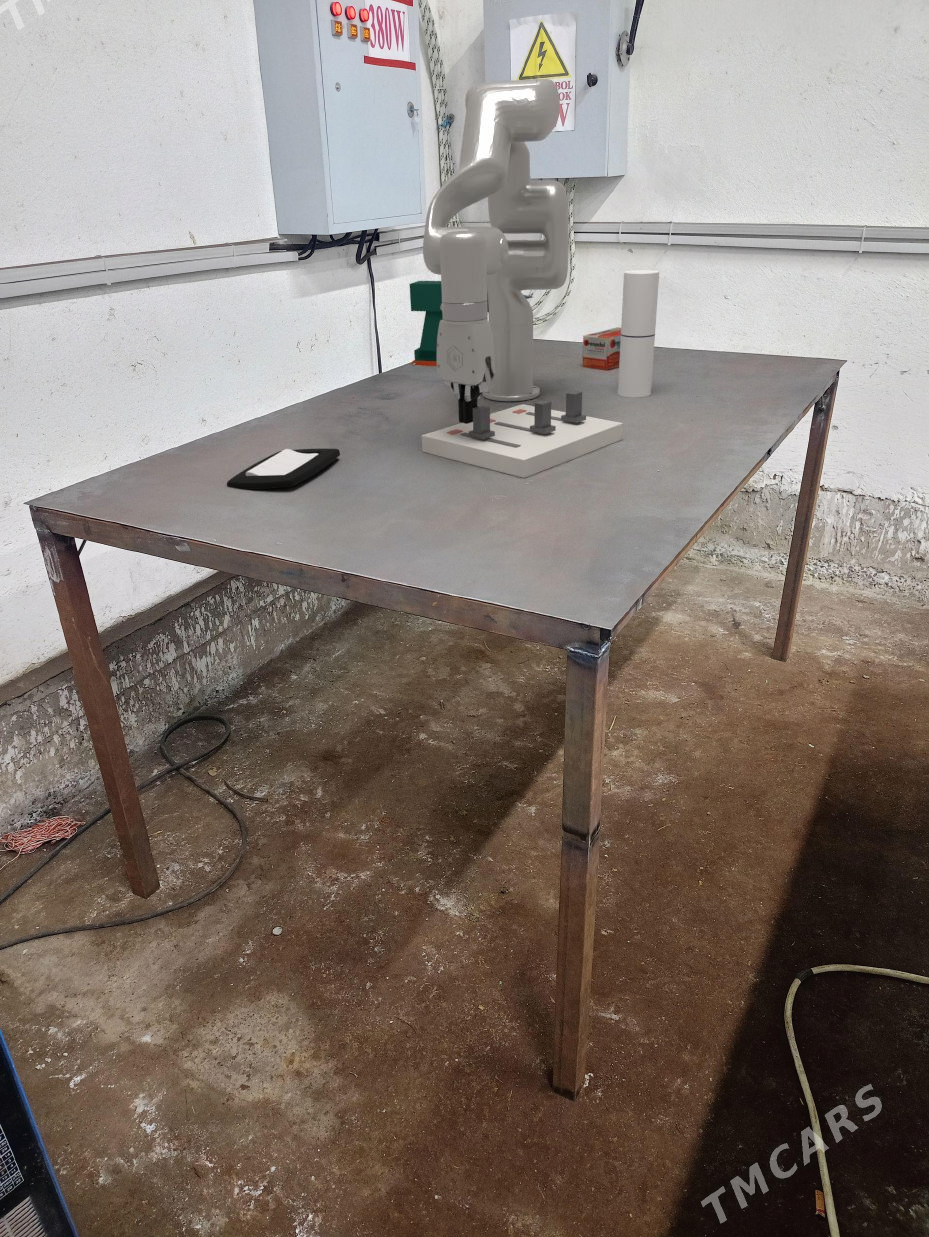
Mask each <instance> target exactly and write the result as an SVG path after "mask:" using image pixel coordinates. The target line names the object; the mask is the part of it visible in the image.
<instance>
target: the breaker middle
mask: <svg viewBox="0 0 929 1237" xmlns="http://www.w3.org/2000/svg"><path fill="white" fill-rule="evenodd" d="M534 406H535V417H534V425H532V426H530V431H534V432H538V433H543V434H547V433H550V432H553V431H556V426H553V425H551V410H552V401H549V400H539V401H536V402H534Z"/></svg>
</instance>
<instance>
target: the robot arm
mask: <svg viewBox="0 0 929 1237" xmlns="http://www.w3.org/2000/svg"><path fill="white" fill-rule="evenodd" d="M464 99H465V100H464V102H465V104H464V105H465V119H464V123H463V124H464V125H463V132H462V133H463V134H462V141H461V142H462V143H461V148H460V156H459V165H458V166H459V167H458V169H457V170H456V171H455V172H454V173H452V175H450V177H448V178H447V180H445V181H444V183H443V184H442V185H441V186H440V187H439V189H438V191H437V192H436V194H435V195H434V196H433V198H432V199H431V201H430V203H429V206H428V210H427V213H426V218H425V226H424V234H423V240H422V241H423V242H422V255H423V257H422V258H423V262H424V264H425V266H426V268H427V270H429V272H431V273H432V274H435V275H440V281H441V287H442V304H441V306H440V308H441V310H442V312H443V320H441V321H440V323H439V329H438V337H437V366H436V373H437V377H438V378H439V379H440V380H441V381H442V382H443V384H444V385H446V386H448V387H450V388H451V389H452V391H453V392H454V397H455V400H457V404H458V405H457V407H458V410H457V411H458V423H459V424H460V423H465V424H468V423H471V422H473V408H474V407H478V406H479V405H478V399H480V398H481V395H483V397H484V398H486V399H487V400H492V401H496V402H497V401H499V402H522V401H528V400H532V399H535V398H538V397H539V396H540V395H541V389H540V387H538V386H536V385H534V311H533V308H532V306H531V304H530V302H529V300H528V299H526V298H525V297H524V295H525V294H523V292H522V291H533V290H535V291H538V290H539V291H542V290H543V291H544V290H549V291H550V290H558V289H560V288H561V287H563V286H564V285H565V284H566V281H567V277H568V274H569V272H568V271H569V203H568V202H569V201H568V194H567V191H566V188H565V186H564V185H563V184H562V183H561V182H559V181H557V180H552V179H550V180H549V179H545V180H544V179H543V180H532V178H531V161H530V160H531V156H530V155H531V154H530V151H529V148H528V146H527V144H526V143H529V142H541V141H544V140H545V139H546V138H547V137H548V136H549V135H550V134H551V133H552V132H553V131H554V129H555V127H556V126H557V123H558V120H559V116H560V109H561V104H560V103H561V102H560V101H561V100H560V93H559V90H558V86H557V85H556V83H555V82H554V81H553V80H552V79H550V78H536V79H535V78H533V79H516V80H513V79H512V80H511V79H510V80H497V81H496V80H495V81H493V80H492V81H486V82H480V83H478V84H474V85H473V86H471V87H470V88H469V89H468V90H467V92H466V94H465V98H464ZM485 198H487V207H488V208H487V209H488V219H489V224H490V226H486V225H484V226H448V224H449V223H450V221H451V220H452V219H453V218H454V217H455V216H456V215H457V214H459V213H460V212H461V211H462V210H464V209H466V208H467V207H468V208H469V207H470V206H472V205H474V204H476V203H478V202H479V201H483V200H484V199H485ZM505 234H511V235H513V234H514V235H515V234H518V235H519V234H522V235H523V234H540V235H543V236H544V239H534V240H533V239H531V240H529V239H512V240H511V239H510V240H509V239H507V238H506V236H505ZM487 294H488V309H489V312H488V309H487Z"/></svg>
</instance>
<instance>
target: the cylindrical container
mask: <svg viewBox="0 0 929 1237" xmlns="http://www.w3.org/2000/svg"><path fill="white" fill-rule="evenodd" d="M659 279H660V271H659V270H655V269H653V270H651V269H636V270H635V269H632V270H625V271H624V272H623V282H622V283H623V284H622V286H623V288H622V307H621V308H622V309H621V324H620V325H621V326H620V328H621V343H620V363H619V367H618V386H617V395H618V396H620V397H624V398H631V399H632V398H633V399H634V398H635V399H636V398H637V399H638V398H646V397H649V396H651V394H652V385H653V372H654V371H653V368H654V355H655V341H656V339H655V338H656V324H657V311H658V310H657V309H658V307H657V306H658V297H659V296H658V294H659V284H660V283H659V281H660V280H659Z"/></svg>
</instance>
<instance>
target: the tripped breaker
mask: <svg viewBox="0 0 929 1237" xmlns="http://www.w3.org/2000/svg"><path fill="white" fill-rule="evenodd" d="M477 406H478V407H474V408H473V430H472V431H469V436H471V437H476V438H480V439H487V438H490V437H493V436H495V431H491V430H490V414H491V410H490V409H491V407H490V406H487V405H477Z"/></svg>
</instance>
